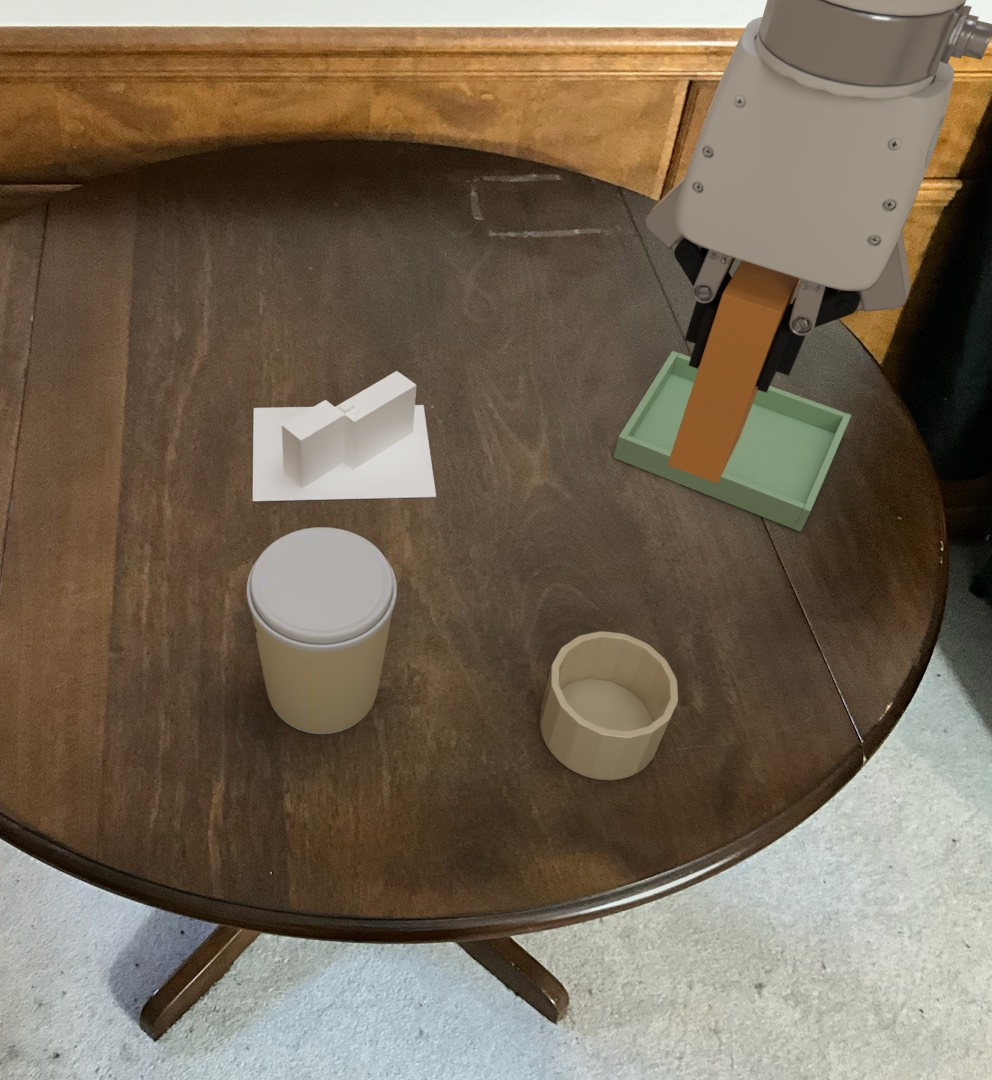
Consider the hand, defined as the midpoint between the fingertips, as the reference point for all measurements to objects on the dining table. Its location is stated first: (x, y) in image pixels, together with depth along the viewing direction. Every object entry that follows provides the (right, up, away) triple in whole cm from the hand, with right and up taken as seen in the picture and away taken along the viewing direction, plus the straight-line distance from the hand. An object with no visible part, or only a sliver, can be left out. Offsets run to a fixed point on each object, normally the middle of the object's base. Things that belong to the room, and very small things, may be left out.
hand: (735, 362), depth 60 cm
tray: (+11, -2, +35) cm, 37 cm away
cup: (-4, -22, +16) cm, 28 cm away
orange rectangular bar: (0, -4, +5) cm, 7 cm away
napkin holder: (-23, -2, +33) cm, 40 cm away
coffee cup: (-23, -20, +18) cm, 36 cm away
